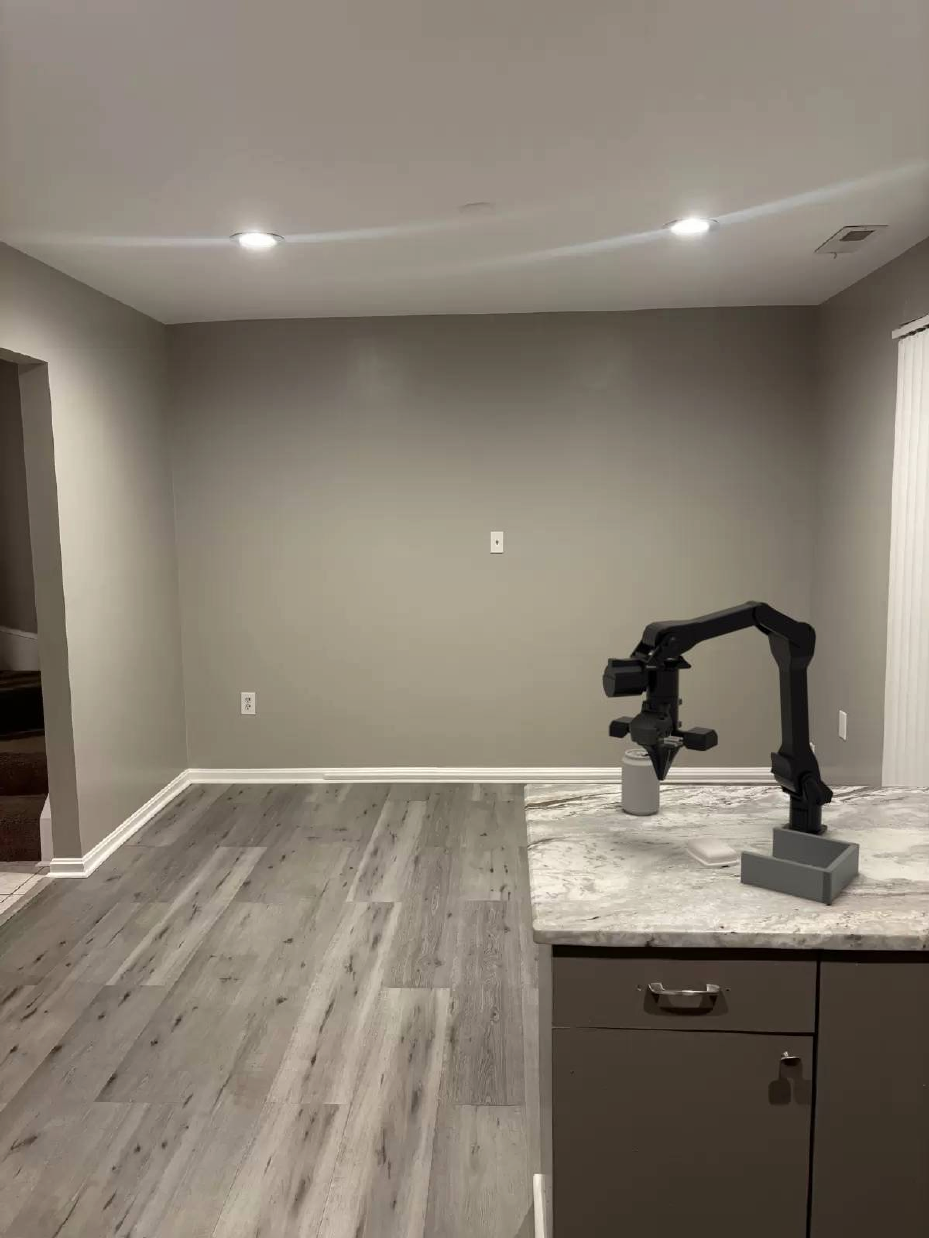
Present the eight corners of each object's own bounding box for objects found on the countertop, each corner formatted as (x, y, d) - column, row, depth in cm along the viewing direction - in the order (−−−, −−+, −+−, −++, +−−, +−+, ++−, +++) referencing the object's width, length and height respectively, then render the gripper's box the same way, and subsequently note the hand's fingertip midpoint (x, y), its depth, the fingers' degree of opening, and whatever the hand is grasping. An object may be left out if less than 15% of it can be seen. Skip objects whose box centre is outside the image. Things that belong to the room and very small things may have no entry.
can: (659, 817, 184) (660, 757, 183) (620, 815, 185) (621, 756, 184) (659, 805, 191) (660, 747, 190) (622, 803, 193) (622, 746, 191)
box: (774, 854, 164) (775, 826, 163) (858, 873, 155) (859, 843, 155) (740, 882, 152) (741, 852, 152) (829, 903, 144) (830, 872, 143)
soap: (742, 866, 160) (743, 850, 159) (706, 871, 158) (707, 854, 158) (715, 848, 168) (715, 832, 168) (680, 852, 167) (681, 836, 166)
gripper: (592, 695, 165) (592, 781, 167) (691, 708, 154) (690, 801, 156) (624, 685, 174) (623, 767, 176) (720, 697, 163) (718, 785, 164)
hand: (661, 780), depth 168 cm, fingers closed
